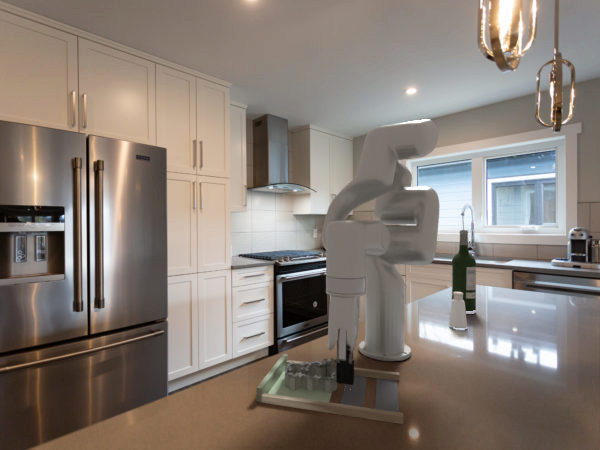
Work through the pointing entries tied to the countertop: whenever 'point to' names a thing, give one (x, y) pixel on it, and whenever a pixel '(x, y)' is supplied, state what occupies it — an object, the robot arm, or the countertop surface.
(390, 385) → the strips
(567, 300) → the countertop surface
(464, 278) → the wine bottle
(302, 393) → the pad
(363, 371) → the channel
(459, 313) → the salt shaker
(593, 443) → the countertop surface
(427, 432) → the countertop surface
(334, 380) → the egg carton
